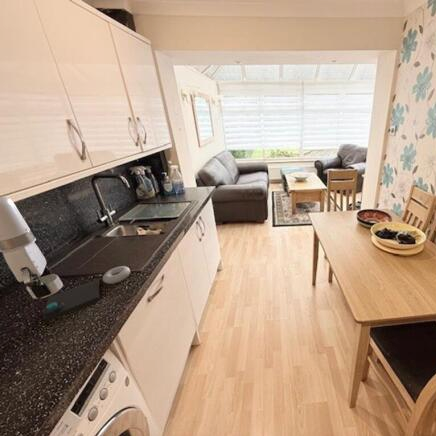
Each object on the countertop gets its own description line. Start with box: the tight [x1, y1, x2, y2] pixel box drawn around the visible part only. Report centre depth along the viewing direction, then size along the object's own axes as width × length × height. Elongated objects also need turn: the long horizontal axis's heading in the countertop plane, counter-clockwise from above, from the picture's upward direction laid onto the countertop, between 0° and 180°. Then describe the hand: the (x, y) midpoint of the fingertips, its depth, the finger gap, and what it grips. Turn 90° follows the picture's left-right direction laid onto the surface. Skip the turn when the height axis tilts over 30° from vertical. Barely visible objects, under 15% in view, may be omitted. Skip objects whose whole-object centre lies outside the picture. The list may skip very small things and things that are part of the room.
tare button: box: [47, 302, 58, 310], centre depth 85 cm, size 3×3×1 cm
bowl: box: [26, 273, 64, 300], centre depth 75 cm, size 7×7×4 cm
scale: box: [41, 278, 101, 323], centre depth 92 cm, size 16×14×3 cm
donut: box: [102, 265, 131, 285], centre depth 102 cm, size 10×4×10 cm
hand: (46, 288), depth 75 cm, fingers closed on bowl, 7 cm apart
